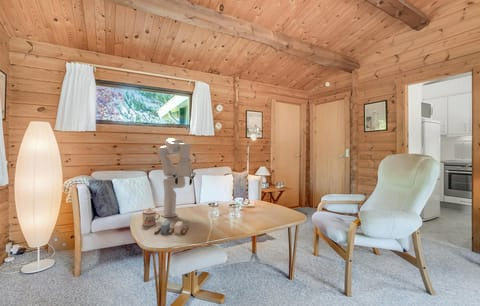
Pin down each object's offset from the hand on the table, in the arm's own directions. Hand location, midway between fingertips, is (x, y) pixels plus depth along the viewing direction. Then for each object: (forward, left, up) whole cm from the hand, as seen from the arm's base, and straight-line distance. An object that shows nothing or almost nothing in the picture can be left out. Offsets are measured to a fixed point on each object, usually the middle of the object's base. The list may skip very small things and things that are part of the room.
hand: (183, 184), depth 171 cm
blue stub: (+16, -7, -28) cm, 33 cm away
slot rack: (+16, -3, -29) cm, 34 cm away
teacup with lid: (-1, -22, -30) cm, 37 cm away
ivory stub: (+16, +1, -28) cm, 33 cm away
